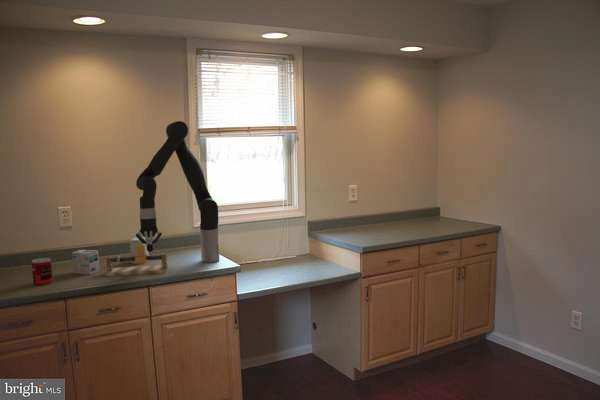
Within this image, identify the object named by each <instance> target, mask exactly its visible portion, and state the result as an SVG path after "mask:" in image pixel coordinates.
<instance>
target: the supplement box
mask: <svg viewBox="0 0 600 400" xmlns="http://www.w3.org/2000/svg"><path fill="white" fill-rule="evenodd" d="M141 237H142V238H143V239H144V240H145V237H144V236H141ZM128 241H129V250H130V257H135V255H136V245H145V253H147V256H150V252H148V251H147V245H146V244H143V243H142V242H141V241H140V240H139V239H138V238H137V237H133V238H132V239H130V240H128ZM145 241H146V240H145ZM149 261H150V260H147V262H149ZM130 262H131V264H135V261H130Z"/></svg>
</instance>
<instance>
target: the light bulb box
mask: <svg viewBox="0 0 600 400" xmlns="http://www.w3.org/2000/svg"><path fill="white" fill-rule="evenodd" d="M99 258H100V257H99V250H93V249H92V250H89V249H79V250H75V251H71V260H72V269H73V274H78V275H79V274H80V275H88V276H90V275H94V274H96V273H99V272H100V271H101V270H100V261H99V260H100V259H99Z"/></svg>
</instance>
